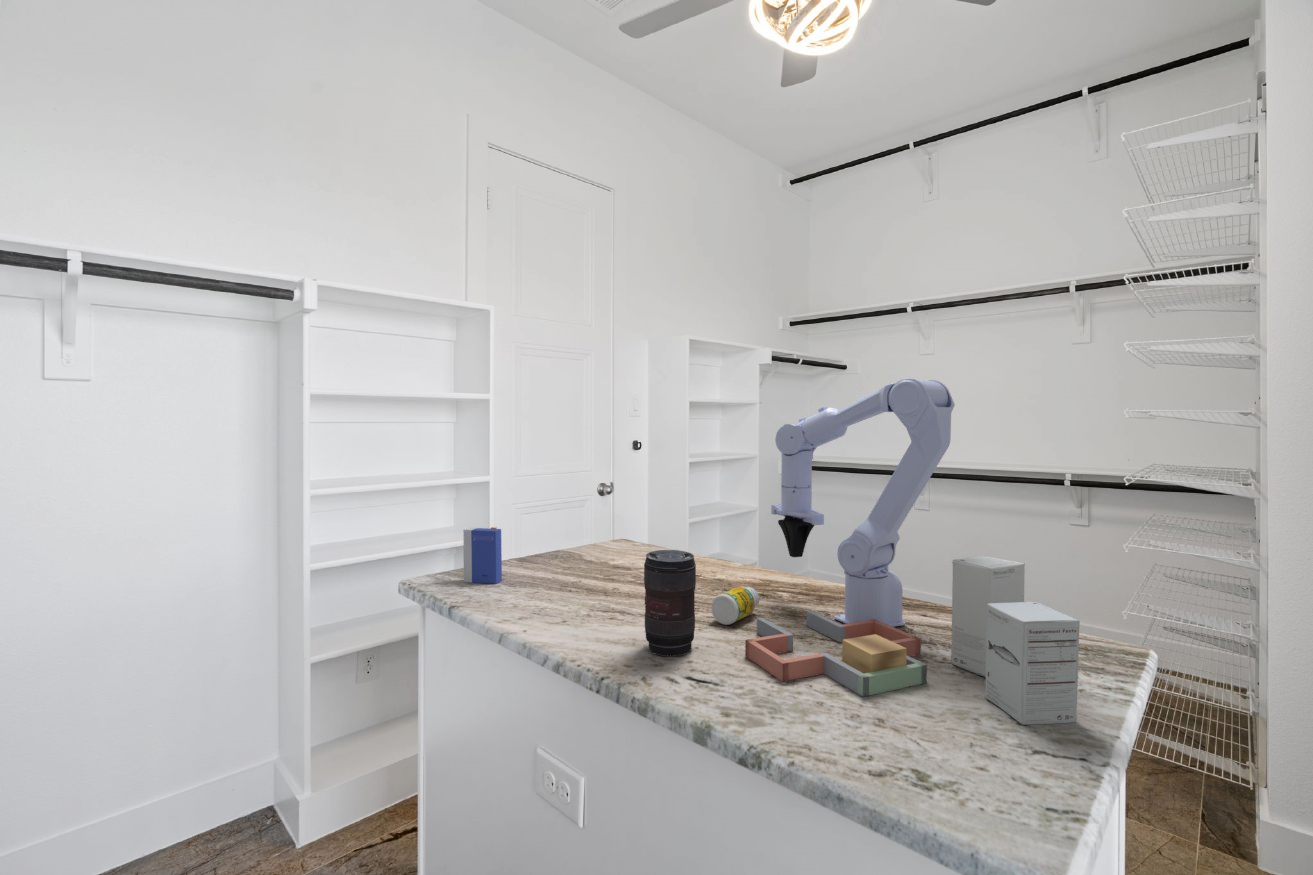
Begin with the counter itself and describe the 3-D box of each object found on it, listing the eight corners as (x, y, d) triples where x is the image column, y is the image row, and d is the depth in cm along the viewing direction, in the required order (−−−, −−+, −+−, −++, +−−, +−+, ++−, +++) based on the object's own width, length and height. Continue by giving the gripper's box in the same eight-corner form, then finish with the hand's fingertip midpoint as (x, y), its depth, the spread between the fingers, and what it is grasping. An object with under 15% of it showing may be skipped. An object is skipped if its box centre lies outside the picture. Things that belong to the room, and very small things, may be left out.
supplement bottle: (716, 628, 111) (743, 615, 118) (740, 621, 108) (767, 608, 115) (706, 598, 112) (733, 587, 119) (730, 591, 109) (756, 580, 116)
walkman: (501, 580, 140) (501, 527, 139) (496, 584, 137) (495, 529, 137) (469, 578, 141) (469, 526, 141) (463, 582, 139) (462, 528, 138)
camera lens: (648, 660, 94) (647, 561, 94) (641, 641, 102) (641, 550, 102) (700, 657, 95) (700, 559, 95) (690, 638, 103) (690, 548, 103)
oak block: (875, 667, 92) (875, 634, 91) (906, 684, 86) (906, 648, 86) (841, 674, 89) (842, 639, 89) (871, 691, 84) (871, 654, 84)
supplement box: (983, 698, 81) (984, 602, 81) (1036, 696, 82) (1038, 600, 82) (1020, 726, 74) (1022, 620, 74) (1079, 723, 75) (1081, 618, 74)
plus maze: (843, 619, 113) (843, 605, 113) (964, 674, 89) (964, 657, 89) (720, 638, 103) (720, 623, 103) (818, 706, 79) (818, 686, 79)
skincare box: (988, 680, 87) (990, 568, 86) (947, 663, 93) (948, 559, 92) (1025, 668, 91) (1028, 562, 90) (983, 653, 97) (985, 553, 96)
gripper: (758, 483, 126) (758, 550, 127) (801, 491, 113) (801, 566, 113) (788, 482, 129) (787, 547, 130) (833, 489, 116) (832, 562, 116)
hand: (796, 556), depth 122 cm, fingers closed
